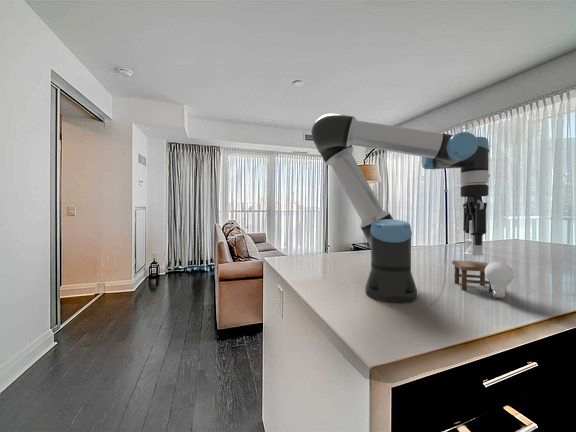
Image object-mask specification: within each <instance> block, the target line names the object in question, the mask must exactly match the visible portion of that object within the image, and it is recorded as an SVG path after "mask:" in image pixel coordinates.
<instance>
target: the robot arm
mask: <svg viewBox="0 0 576 432" xmlns="http://www.w3.org/2000/svg"><path fill="white" fill-rule="evenodd" d="M311 138H312V141H313V143H314V145H315V148H316V149H317V152H318V153H319V154H320V156H321V158H322V159H323V161H324V163H325V165H326V166H329V167H330V166H331V167H332V169H333V171H334V173H335V174H336V176H337V179H338V180H339V182H340V184H341V186H342V188H343V189H344V191H345V193H346V195H347V196H348V199H349V201H350V202H351V204H352V206H353V208H354V210H355V212H356V213H357V215H358V217H359V219H360V226H359V227H360V229H361V231H362V233H363V235H364V237H365V238H366V240H367V243H368V245H369V246H370V271H369V274H368V277H367V280H366V282H365V294H366V295H367V296H368V297H370V298H371V299H375V300H378V301H381V302H385V303H386V302H387V303H393V304H395V303H396V304H406V303H407V304H408V303H412V302H415V301H417V300H418V288H417V286H416V283H415V280H414V277H413V274H412V236H413V235H412V234H413V233H412V227H411V224H410V223H409V222H407V221H406V220H405V221H404V220H400V219H394V218H393V217H392V215H391V213H390V212H389V211H386V210H385V209H384V210H383V208H382V206H381V204H380V201H378V198H377V196H376V195H375V193H374V191H373V190H372V188H371V186H370V184H369V182H368V181H367V178H366V177H365V175H364V173H363V171H362V169H361V168H360V166H359V165H358V162H357V161H356V159H355V157H354V155H353V152H354V146H357V147H358V146H359V147H362V148H370V149H374V150H375V149H376V150H381V151H387V152H392V153H398V154H405V155H410V156H416V157H417V156H418V157H421V167H422V168H423V169H424V170H433V171H434V170H441V169H443V170H445V169H459V168H460V179H459V180H460V183H459V184H460V185H461V187H460V197H461V198H466V202H465V203H463V204H462V207H463V220H462V221H463V225H462V227H463V229H462V230H463V231H464V233H465V252H466V251H467V249H468V248H469V246H470V244H471V243H469V242H468V241H466V239H469V223H470V221H472V225H473V233H471V235H472V255H471V256H484V255H483V254H484V251H483V249H484V248H483V241H484V240H483V239H484V238H483V236H484V235H485V234H487V207H488V206H487V205H488V203H487V202H483V197H488V196H489V185H488V183H489V178H490V177H491V174H489V158H490V157H489V155H490V145H489V144H490V143H489V139H488V138H487V137H486V136H485V137H484V136H476V135H475V134H473V133H471V132H468V131H462V132H458V133H455V134H451V133H450V134H449V133H441V132H435V131H428V130H421V129H416V128H410V127H409V128H408V127H403V126H397V125H389V124H382V123H377V122H376V123H375V122H369V121H363V120H358V119H357V118H356V117H355V116H353V115H346V114H339V113H338V114H337V113H327V114H324V115H322V116H320V117H318V119H316V121H315V122H314V123H313V125H312V128H311Z"/></svg>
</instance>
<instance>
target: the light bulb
mask: <svg viewBox="0 0 576 432" xmlns="http://www.w3.org/2000/svg"><path fill="white" fill-rule="evenodd" d="M514 274H515V273H514V270H513V269H512V268H511V266H510V265H509V264H507V263H505V262H502V261H492V262H490V263H488V265H487V266H486V268H485V278H486V279H487V281H489V282H490V284H491V289H492V290H493V291H492V293H491V295H492V297H494V298H496V299H498V300H501V299H504V298H505V297H506V291H507V287H508V286H509V284H510V283H511V282H512V281H513V280H514V278H515V275H514Z"/></svg>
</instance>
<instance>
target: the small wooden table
mask: <svg viewBox="0 0 576 432" xmlns="http://www.w3.org/2000/svg"><path fill="white" fill-rule="evenodd" d="M451 262H452V263H451V264H452V265H453V266H454V284H456V285H459V284H460V278H461V291H465V292H466V291H467V290H468V289H467V287H468V284H479V286H481V287H485V286H486V285H488V286H489V288H488V289H489V291H488V292H489V293H491V294H492V291H493V290H492V289H491V284H490V282H489V280H486V276H485V268H486V266H487V265H488V264H489V263H488V262H486V261H472V260H471V261H469V260H466V261H465V260H452V261H451ZM460 271H461V273H460ZM468 271H469V272H479V274H467V273H468ZM468 278H470V279H468ZM471 278H475V280H474V279H471ZM476 279H479V280H476Z"/></svg>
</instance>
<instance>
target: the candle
mask: <svg viewBox="0 0 576 432" xmlns="http://www.w3.org/2000/svg"><path fill="white" fill-rule="evenodd" d="M471 233H473V225H472V221H470V223H469V239H466V238H465V242H466V241H468V242H469V243H471V244H470V246H469V248H468V249H467V251H466V250H465V252H464V254H465V255H469V256H473V255H472V235H471ZM482 256H484V253H483V255H482Z"/></svg>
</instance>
